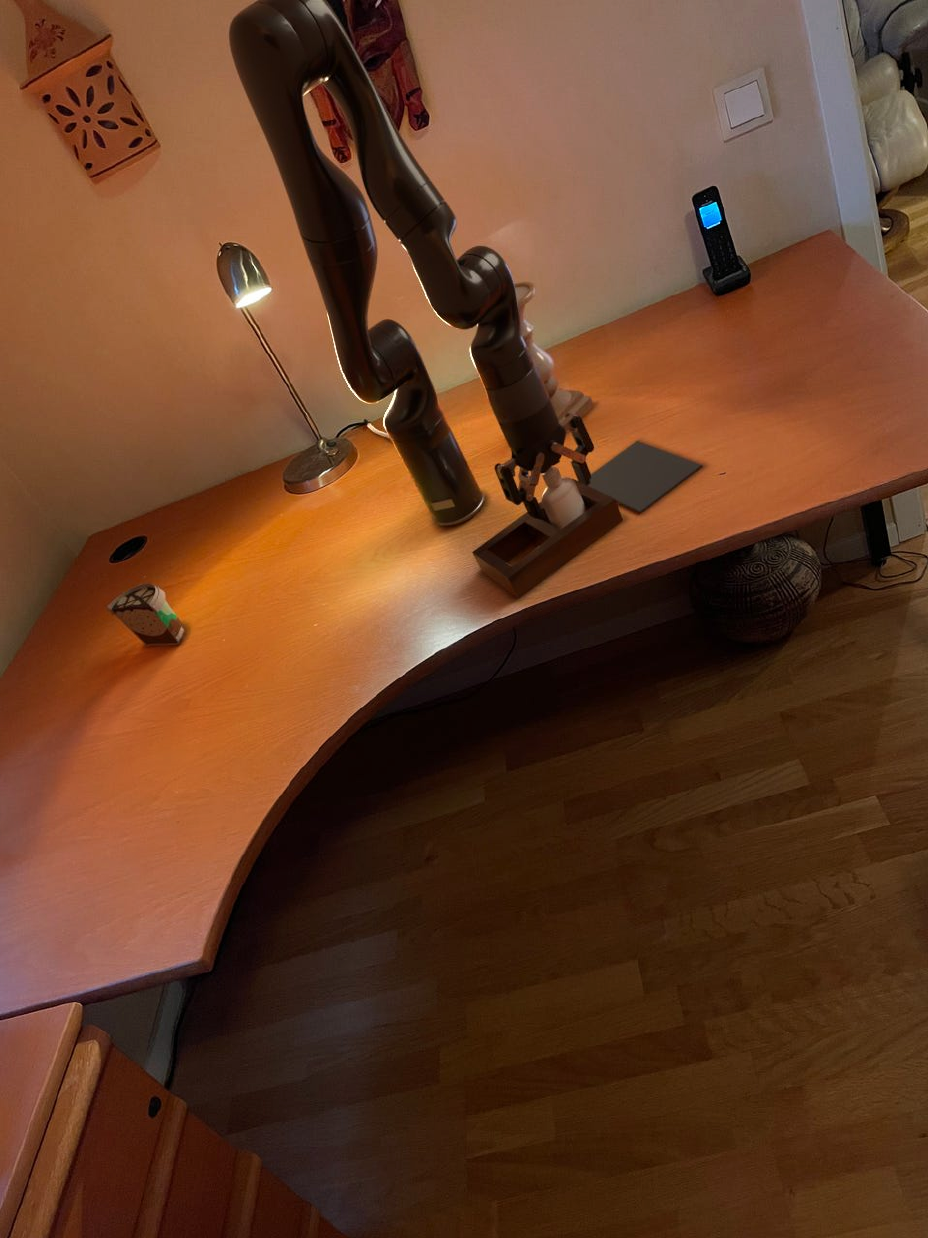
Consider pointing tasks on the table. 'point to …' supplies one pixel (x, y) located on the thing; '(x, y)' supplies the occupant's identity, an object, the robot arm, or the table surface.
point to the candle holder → (548, 364)
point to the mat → (642, 475)
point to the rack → (545, 543)
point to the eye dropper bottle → (561, 499)
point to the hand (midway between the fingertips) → (562, 500)
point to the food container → (148, 615)
